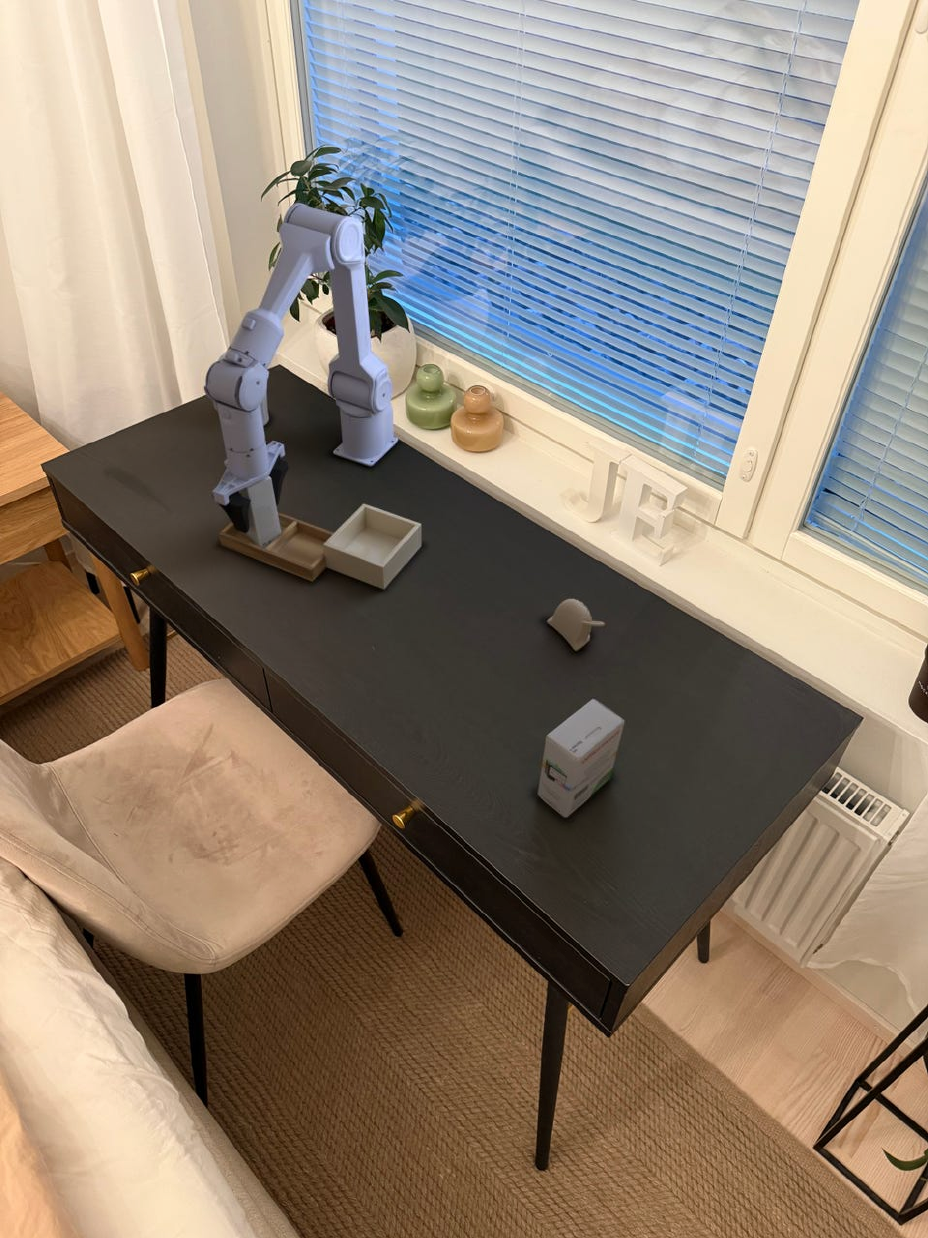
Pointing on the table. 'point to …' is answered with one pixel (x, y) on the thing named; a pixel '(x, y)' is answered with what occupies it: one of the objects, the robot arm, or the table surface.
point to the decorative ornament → (573, 622)
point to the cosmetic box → (262, 513)
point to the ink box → (579, 757)
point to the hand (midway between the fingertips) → (257, 516)
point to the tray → (285, 547)
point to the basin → (373, 545)
